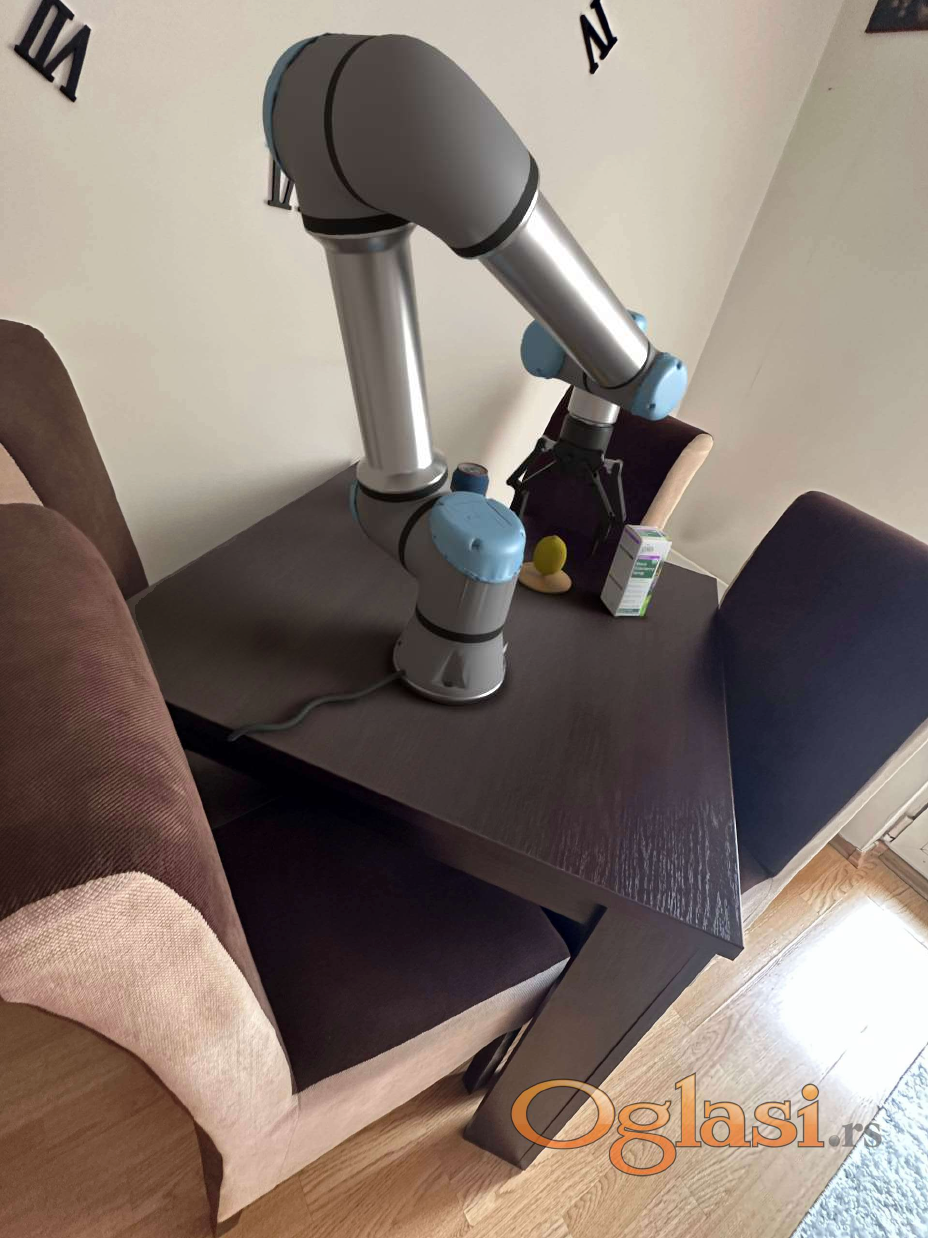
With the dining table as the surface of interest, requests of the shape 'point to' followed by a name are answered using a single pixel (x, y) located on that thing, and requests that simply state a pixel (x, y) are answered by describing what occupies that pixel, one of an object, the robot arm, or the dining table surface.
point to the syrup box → (635, 570)
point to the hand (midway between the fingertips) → (551, 541)
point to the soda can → (470, 478)
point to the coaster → (543, 580)
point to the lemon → (549, 555)
